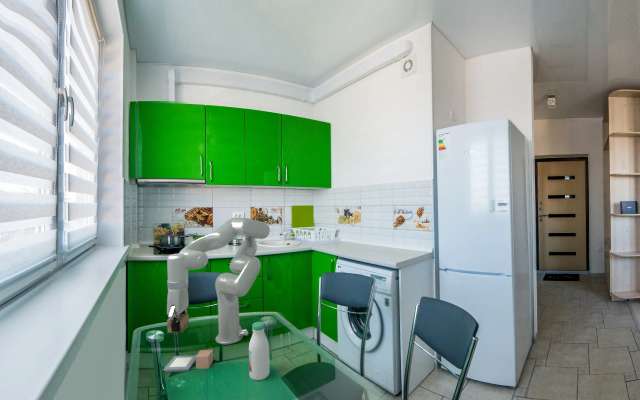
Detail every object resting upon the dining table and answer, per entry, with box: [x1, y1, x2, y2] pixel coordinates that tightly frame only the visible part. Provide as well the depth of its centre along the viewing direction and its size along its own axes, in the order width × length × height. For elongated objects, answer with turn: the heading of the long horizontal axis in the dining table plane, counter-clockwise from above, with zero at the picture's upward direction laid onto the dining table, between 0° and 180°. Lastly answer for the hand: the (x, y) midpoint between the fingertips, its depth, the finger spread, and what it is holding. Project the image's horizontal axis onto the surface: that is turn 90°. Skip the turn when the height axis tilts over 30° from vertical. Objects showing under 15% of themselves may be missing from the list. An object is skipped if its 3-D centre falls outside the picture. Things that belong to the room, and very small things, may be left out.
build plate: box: [162, 354, 197, 372], centre depth 126 cm, size 10×10×1 cm
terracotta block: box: [195, 349, 214, 370], centre depth 125 cm, size 5×5×5 cm
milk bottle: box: [248, 321, 271, 381], centre depth 117 cm, size 8×8×20 cm
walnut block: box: [166, 313, 190, 333], centre depth 125 cm, size 6×6×5 cm
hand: (179, 327), depth 125 cm, fingers closed on walnut block, 6 cm apart
